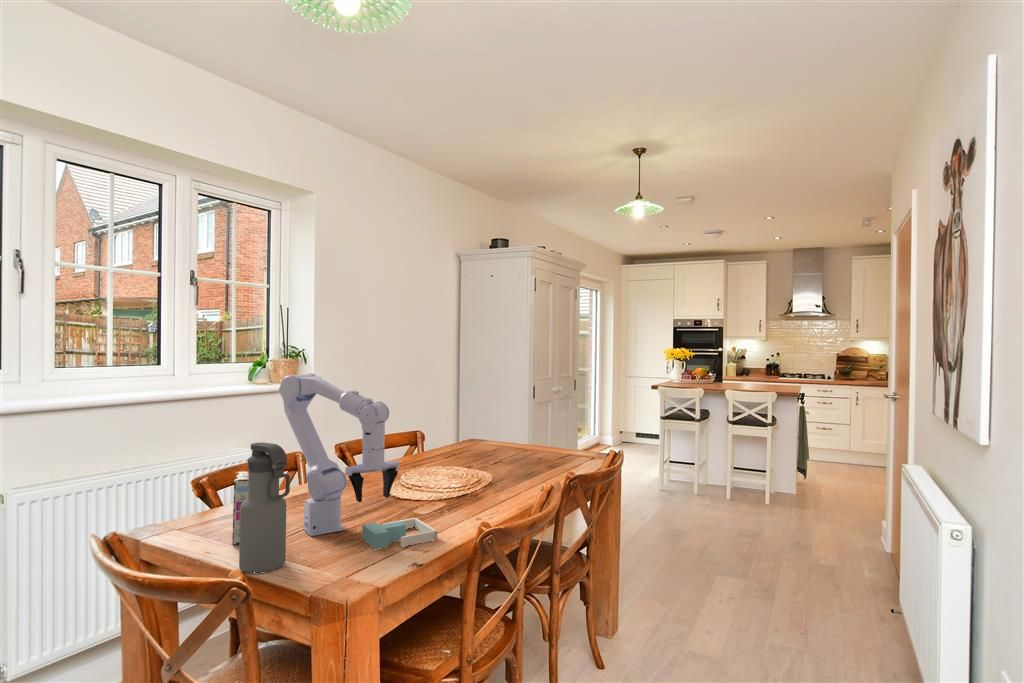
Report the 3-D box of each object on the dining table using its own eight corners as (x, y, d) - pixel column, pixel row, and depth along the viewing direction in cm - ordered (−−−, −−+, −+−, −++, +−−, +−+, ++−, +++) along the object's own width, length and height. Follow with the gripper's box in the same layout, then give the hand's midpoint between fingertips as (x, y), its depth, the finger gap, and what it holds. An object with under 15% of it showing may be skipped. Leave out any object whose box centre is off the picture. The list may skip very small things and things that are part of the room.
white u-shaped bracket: (401, 547, 144) (401, 537, 144) (381, 532, 154) (382, 523, 154) (437, 540, 149) (437, 530, 149) (415, 526, 160) (415, 517, 160)
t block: (375, 550, 142) (375, 534, 142) (362, 539, 149) (362, 524, 149) (410, 543, 147) (410, 527, 147) (396, 533, 154) (396, 518, 154)
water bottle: (296, 562, 133) (297, 443, 133) (262, 578, 124) (264, 450, 124) (263, 555, 137) (265, 439, 137) (229, 570, 128) (231, 446, 128)
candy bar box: (253, 543, 145) (254, 479, 145) (231, 545, 143) (232, 480, 143) (256, 529, 156) (257, 469, 156) (236, 531, 154) (237, 471, 154)
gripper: (352, 453, 144) (351, 506, 144) (405, 447, 153) (404, 498, 153) (342, 448, 150) (342, 500, 150) (393, 443, 159) (393, 492, 158)
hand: (372, 499), depth 152 cm, fingers open, 7 cm apart
